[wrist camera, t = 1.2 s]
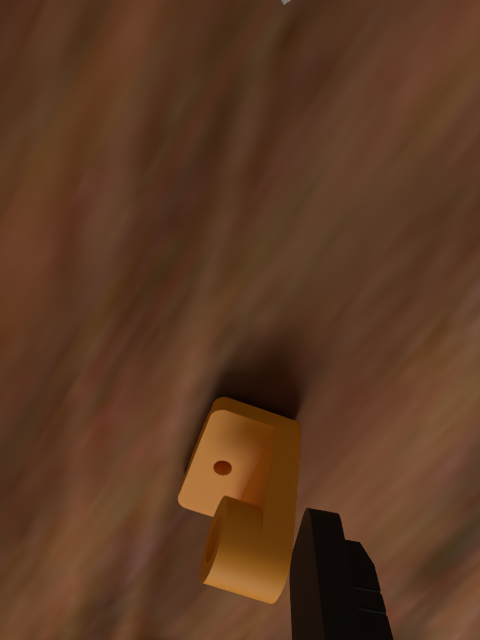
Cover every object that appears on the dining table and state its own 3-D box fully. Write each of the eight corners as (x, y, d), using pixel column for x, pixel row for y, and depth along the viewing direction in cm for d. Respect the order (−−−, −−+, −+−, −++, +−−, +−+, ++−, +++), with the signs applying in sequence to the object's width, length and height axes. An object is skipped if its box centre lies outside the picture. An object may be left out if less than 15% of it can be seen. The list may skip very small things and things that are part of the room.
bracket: (217, 388, 34) (194, 499, 23) (298, 416, 35) (314, 537, 23) (181, 482, 38) (145, 615, 27) (253, 505, 39) (249, 646, 27)
